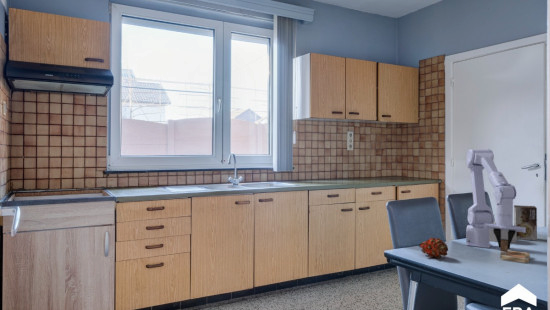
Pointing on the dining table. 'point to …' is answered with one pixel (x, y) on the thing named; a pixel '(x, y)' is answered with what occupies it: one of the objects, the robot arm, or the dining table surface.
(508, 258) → the tile holder
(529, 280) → the dining table surface
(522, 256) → the tile
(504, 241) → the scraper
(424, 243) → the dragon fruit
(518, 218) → the coffee box
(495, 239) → the lumpy-topped squat cylinder
